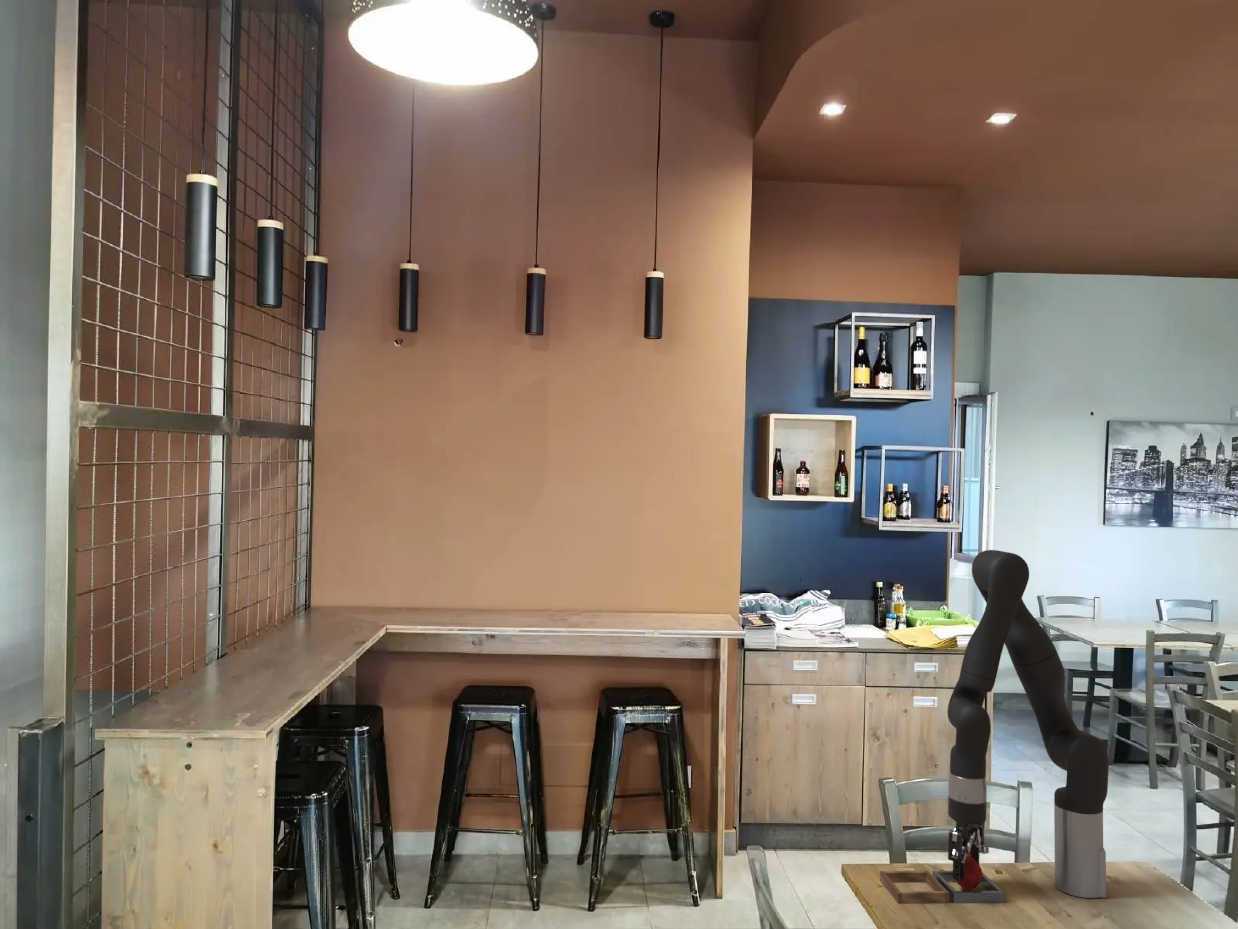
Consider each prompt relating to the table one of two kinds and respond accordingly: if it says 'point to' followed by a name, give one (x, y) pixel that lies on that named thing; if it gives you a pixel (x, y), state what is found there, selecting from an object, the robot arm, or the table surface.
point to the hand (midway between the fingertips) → (966, 874)
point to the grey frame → (988, 896)
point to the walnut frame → (914, 896)
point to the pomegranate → (971, 874)
